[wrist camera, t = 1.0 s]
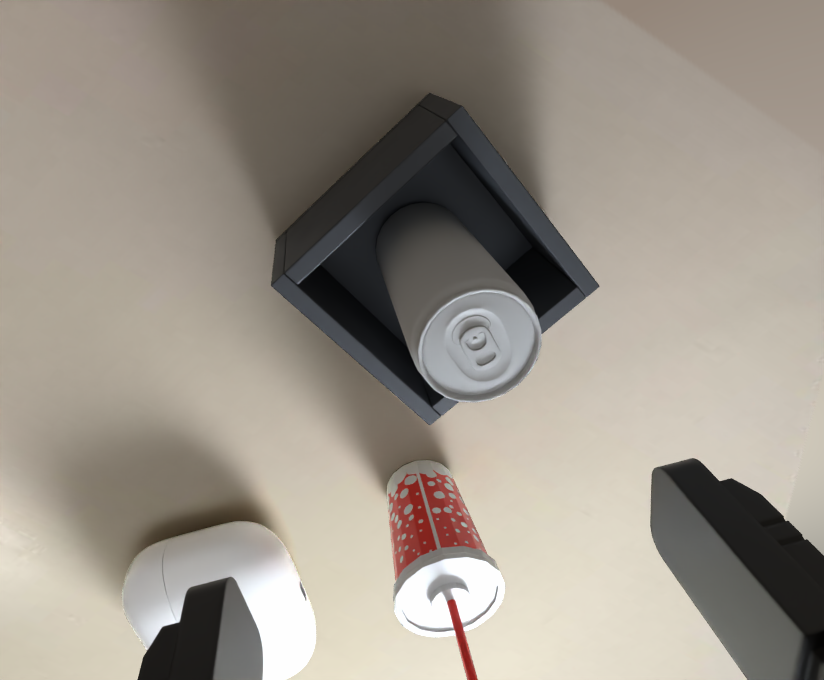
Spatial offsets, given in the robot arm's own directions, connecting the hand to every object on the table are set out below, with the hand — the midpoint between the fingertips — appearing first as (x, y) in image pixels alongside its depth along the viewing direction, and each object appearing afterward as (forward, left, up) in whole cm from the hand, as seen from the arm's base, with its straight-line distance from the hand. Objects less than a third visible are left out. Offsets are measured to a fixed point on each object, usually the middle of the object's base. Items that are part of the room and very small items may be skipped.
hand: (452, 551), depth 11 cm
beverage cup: (+9, +16, -23) cm, 29 cm away
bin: (-2, +3, -22) cm, 23 cm away
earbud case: (+23, +12, -23) cm, 34 cm away
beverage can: (-2, +3, -22) cm, 22 cm away
